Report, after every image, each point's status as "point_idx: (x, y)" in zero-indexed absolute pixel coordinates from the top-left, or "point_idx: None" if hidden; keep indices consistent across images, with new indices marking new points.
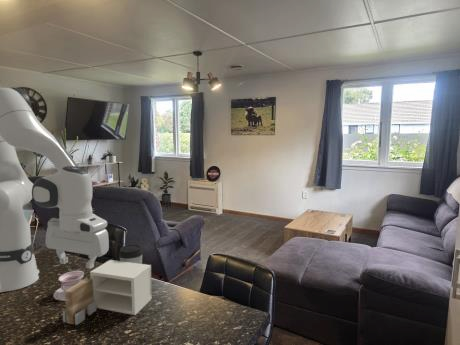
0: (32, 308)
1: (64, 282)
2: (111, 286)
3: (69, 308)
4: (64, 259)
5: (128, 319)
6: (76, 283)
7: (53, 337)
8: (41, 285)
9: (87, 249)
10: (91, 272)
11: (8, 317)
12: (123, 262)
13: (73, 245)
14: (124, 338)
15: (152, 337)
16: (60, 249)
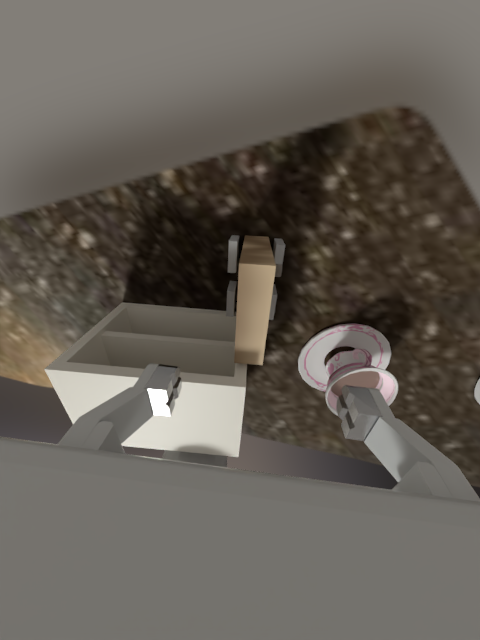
0: (416, 279)
1: (365, 366)
2: (193, 361)
3: (256, 246)
4: (353, 412)
5: (123, 284)
6: (333, 374)
7: (259, 161)
8: (449, 373)
9: (19, 517)
10: (239, 385)
11: (473, 222)
12: (180, 447)
13: (230, 587)
14: (68, 208)
15: (11, 229)
16: (423, 503)
